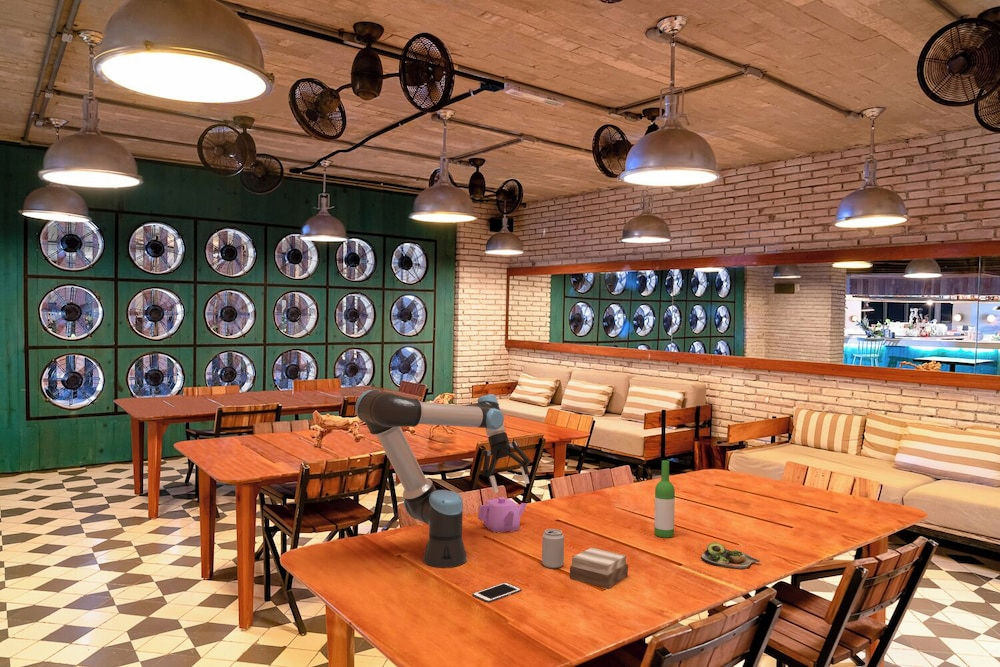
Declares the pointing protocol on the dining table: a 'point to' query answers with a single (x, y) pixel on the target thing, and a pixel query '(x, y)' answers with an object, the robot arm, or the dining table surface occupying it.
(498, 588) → the cell phone
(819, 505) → the dining table surface
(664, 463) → the wine bottle
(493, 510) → the teakettle
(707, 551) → the salad plate
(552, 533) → the can
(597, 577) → the plinth
